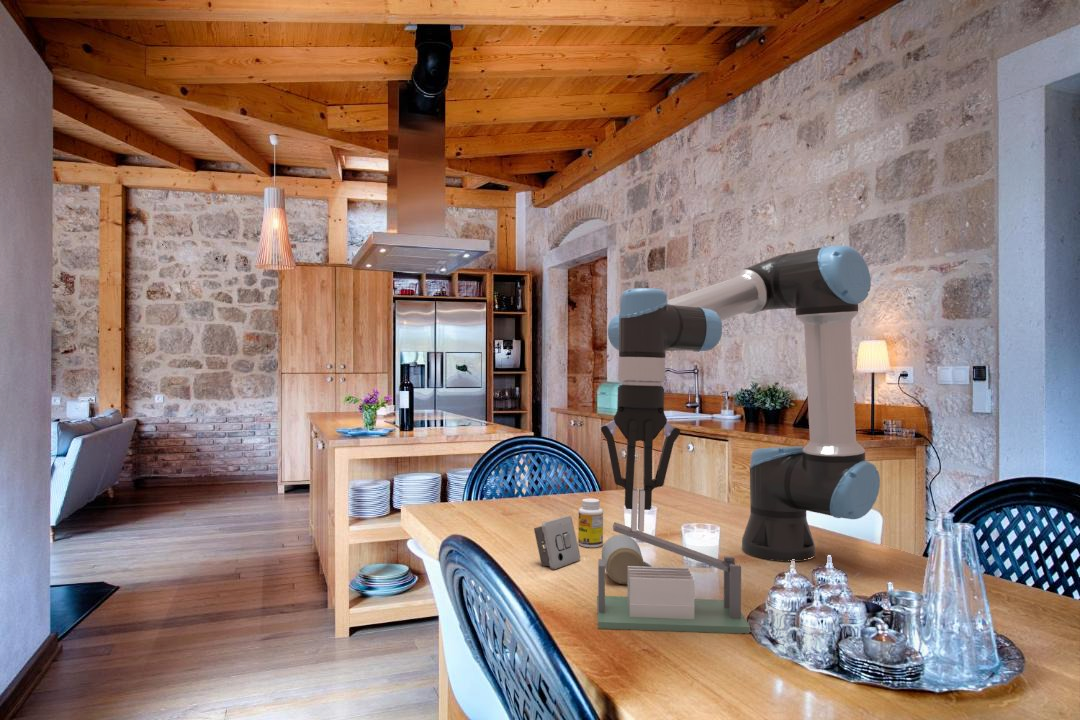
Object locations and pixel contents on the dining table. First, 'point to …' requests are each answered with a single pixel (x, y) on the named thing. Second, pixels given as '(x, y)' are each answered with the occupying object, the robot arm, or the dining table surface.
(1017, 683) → the dining table surface
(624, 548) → the ceramic mug
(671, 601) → the base
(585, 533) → the supplement bottle
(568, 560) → the electrical switch
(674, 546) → the grey retaining bar
